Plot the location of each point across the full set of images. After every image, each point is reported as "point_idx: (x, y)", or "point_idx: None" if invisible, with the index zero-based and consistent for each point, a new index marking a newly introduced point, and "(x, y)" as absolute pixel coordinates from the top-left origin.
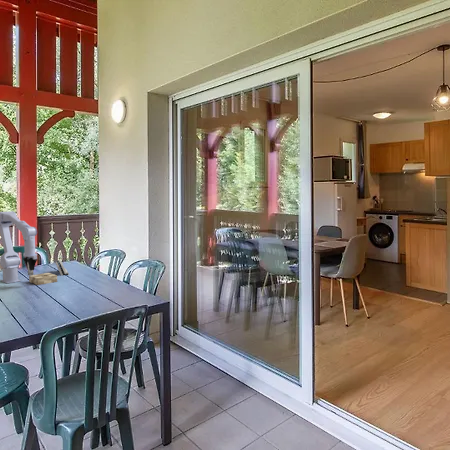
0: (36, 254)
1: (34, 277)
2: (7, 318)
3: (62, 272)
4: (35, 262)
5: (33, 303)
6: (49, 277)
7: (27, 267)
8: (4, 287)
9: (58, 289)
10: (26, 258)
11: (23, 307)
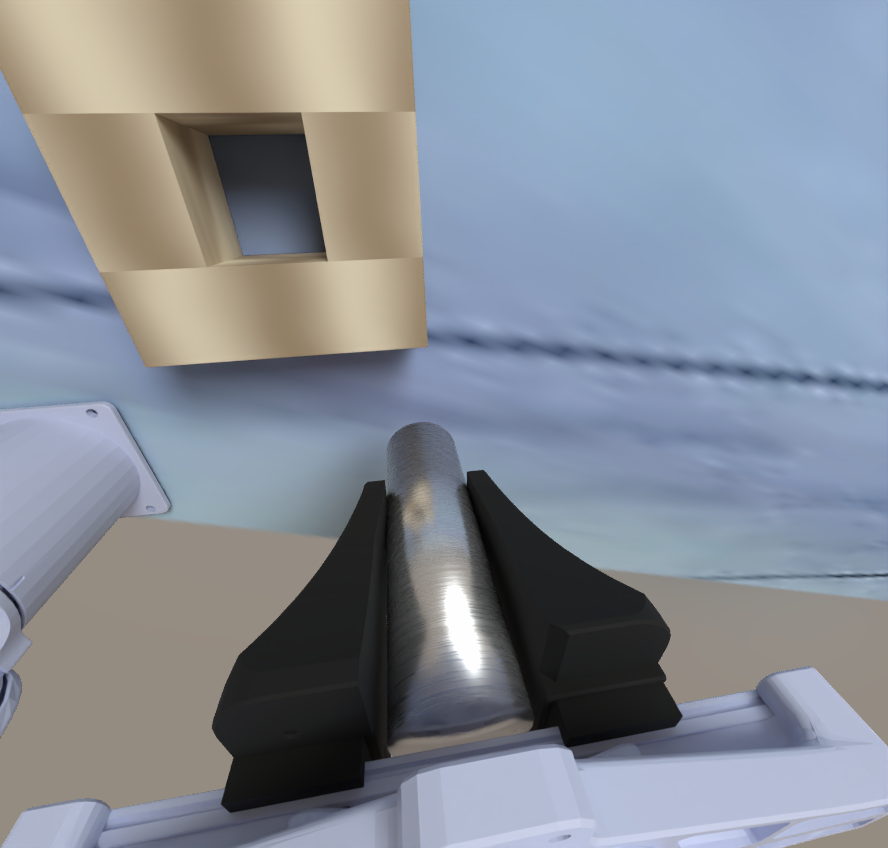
0: (585, 813)
1: (326, 353)
2: (857, 590)
3: None
4: (574, 561)
5: (826, 495)
6: (416, 154)
7: None
8: (319, 536)
9: (752, 238)
10: (378, 759)
11: (822, 537)
